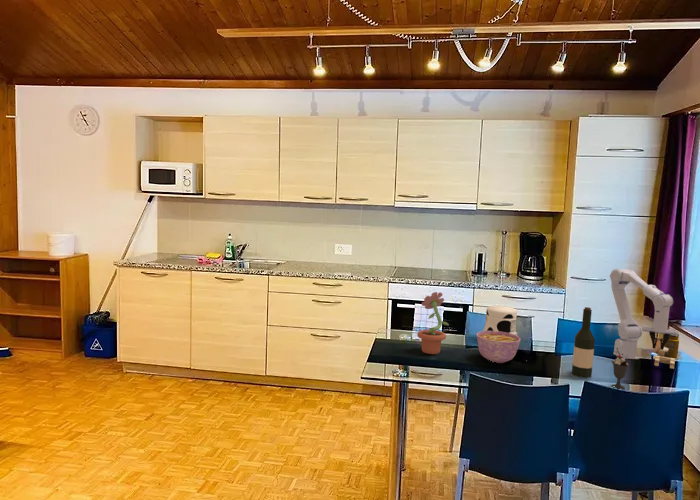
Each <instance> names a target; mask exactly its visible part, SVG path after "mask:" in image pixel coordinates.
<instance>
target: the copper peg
mask: <svg viewBox="0 0 700 500" xmlns="http://www.w3.org/2000/svg"><path fill="white" fill-rule="evenodd" d="M662 342H663V337H658V336H657V337H656V336H655V347H654V348H653V353H654V354H656V355H657V354H661V349H662Z"/></svg>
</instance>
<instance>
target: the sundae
mask: <svg viewBox="0 0 700 500" xmlns="http://www.w3.org/2000/svg"><path fill="white" fill-rule="evenodd" d="M617 351H618V350H617ZM618 352H619V351H618ZM611 363H612V366H613V376H614V377H615V378H616V379H617V380H616V381H617V382H616V383H614V384H611V387H612V386H615V387H616V388H615V389H617V388H621V389H620V390H624V389H625V388H626V387H625V386H624V385H622V384H621V380H622V379H624V378H625V377H626V373H627V370H628V367H629V366H630V363H628V362H627V360H626V359H624V358H623V357H621V355H620V353H619V356H616V358H615V359H614V360H612V361H611Z"/></svg>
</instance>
